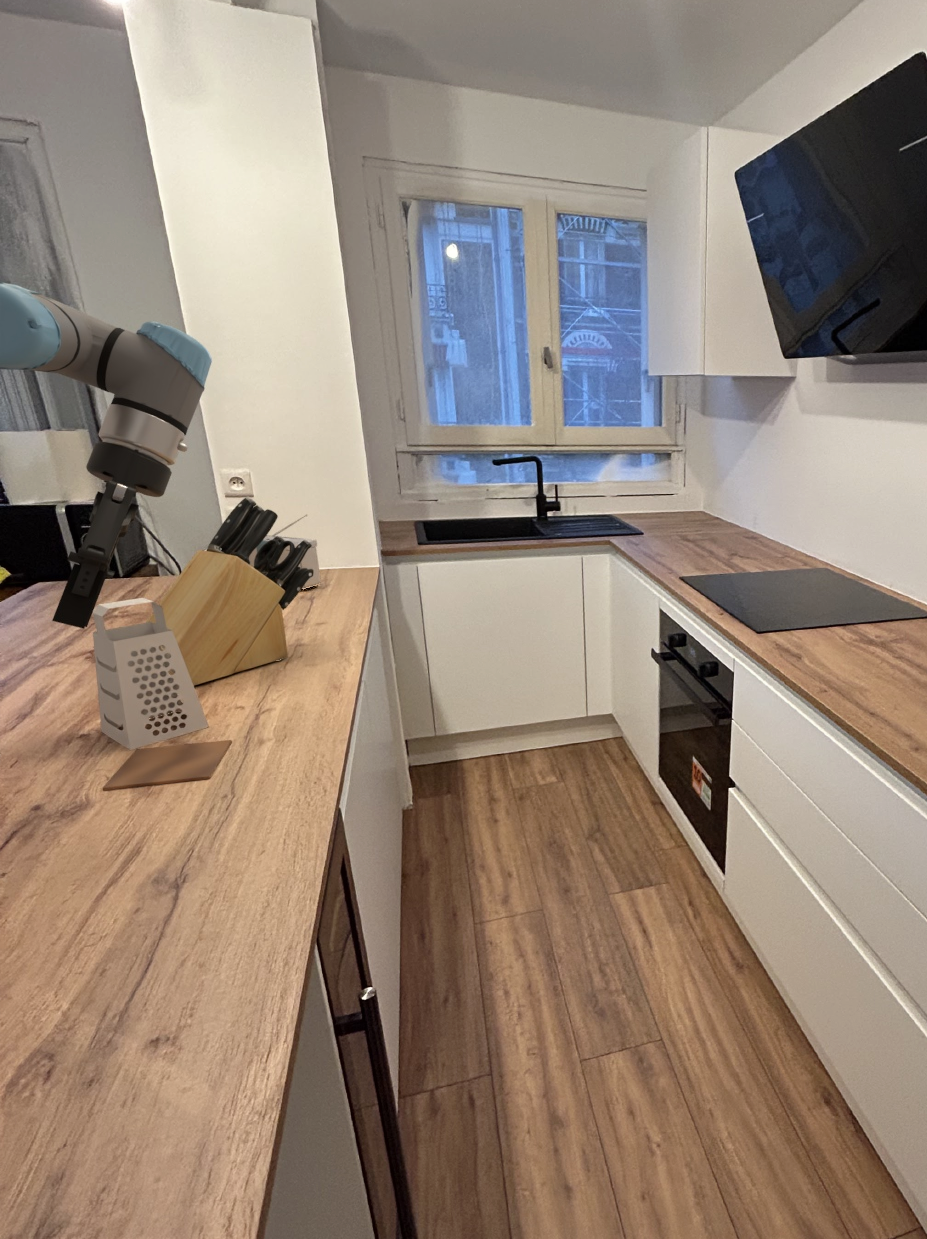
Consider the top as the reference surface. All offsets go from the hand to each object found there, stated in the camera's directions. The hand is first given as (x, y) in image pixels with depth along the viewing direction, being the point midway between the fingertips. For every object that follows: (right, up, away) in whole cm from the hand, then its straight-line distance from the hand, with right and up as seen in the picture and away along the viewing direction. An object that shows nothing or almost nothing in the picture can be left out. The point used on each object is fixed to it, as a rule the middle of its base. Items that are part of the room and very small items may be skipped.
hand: (70, 624), depth 83 cm
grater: (-11, -15, +28) cm, 34 cm away
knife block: (-17, -5, +56) cm, 59 cm away
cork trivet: (-1, -18, +18) cm, 26 cm away
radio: (-43, +18, +119) cm, 127 cm away
